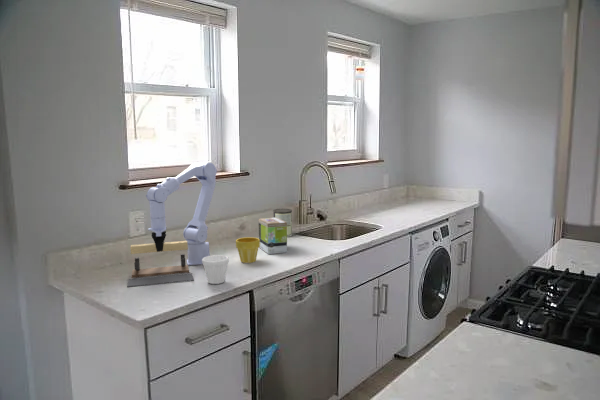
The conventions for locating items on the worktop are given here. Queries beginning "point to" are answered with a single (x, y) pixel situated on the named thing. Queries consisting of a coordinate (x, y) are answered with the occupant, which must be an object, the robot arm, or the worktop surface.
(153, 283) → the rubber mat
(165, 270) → the hook rack
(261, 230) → the tea box
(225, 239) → the worktop surface
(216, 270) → the cup
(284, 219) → the coffee can
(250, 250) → the plant pot
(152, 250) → the brass rail
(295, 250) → the worktop surface
